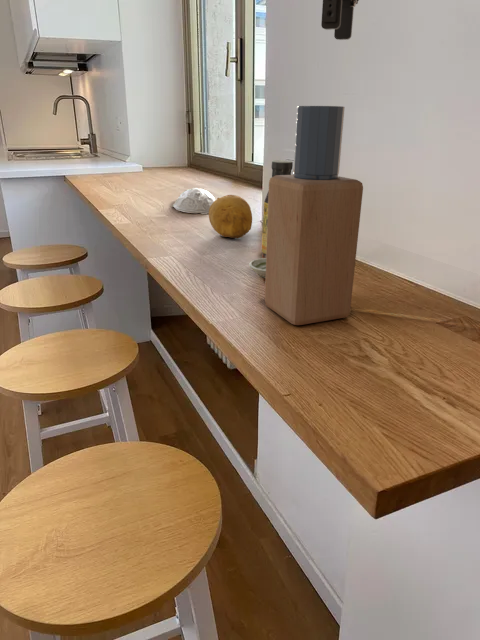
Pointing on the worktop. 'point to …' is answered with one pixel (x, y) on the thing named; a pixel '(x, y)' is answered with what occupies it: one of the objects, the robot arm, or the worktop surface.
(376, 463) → the worktop surface
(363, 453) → the worktop surface
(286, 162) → the sauce bottle
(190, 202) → the white lumpy mound
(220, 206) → the potato
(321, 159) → the cup
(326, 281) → the block
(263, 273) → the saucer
